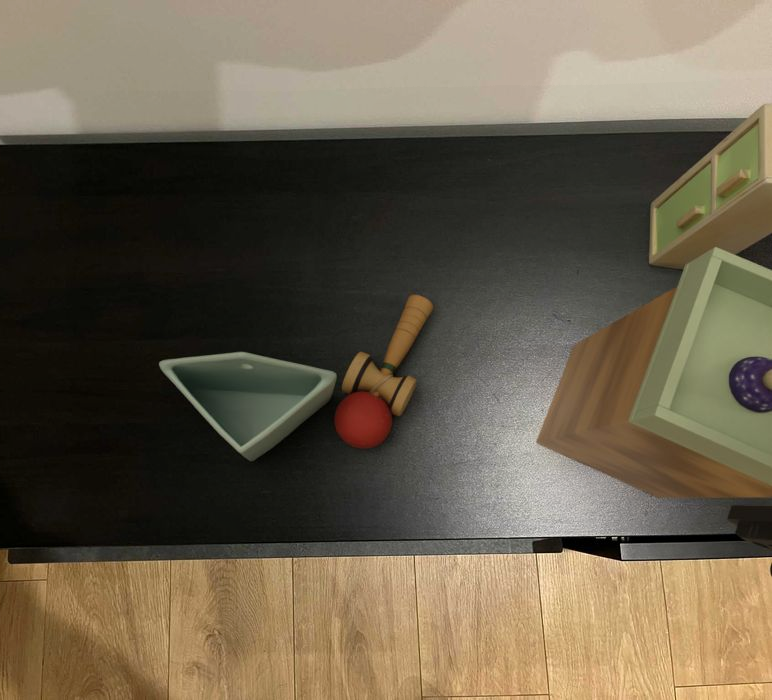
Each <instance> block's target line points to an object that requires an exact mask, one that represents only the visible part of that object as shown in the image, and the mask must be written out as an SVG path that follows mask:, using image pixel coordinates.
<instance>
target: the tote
mask: <svg viewBox="0 0 772 700" xmlns="http://www.w3.org/2000/svg"><path fill="white" fill-rule="evenodd" d="M676 287H677V289H676V292H675V294H674V297H673V300H672V303H671V305H670V308H669V311H668V314H667V316H666V319H665V322H664V324H663V327H662V330H661V333H660V335H659V338H658V341H657V344H656V346H655V349H654V352H653V354H652V357H651V360H650V363H649V365H648V368H647V371H646V374H645V376H644V379H643V382H642V384H641V387H640V390H639V393H638V395H637V398H636V401H635V404H634V406H633V409H632V412H631V414H630V417H629V420H628V422H629V423H632V424H634V425H636V426H638V427H641V428H643V429H645V430H647V431H650V432H652V433H654V434H656V435H659V436H661V437H663V438H665V439H668V440H670V441H672V442H674V443H676V444H679V445H681V446H683V447H685V448H688V449H690V450H692V451H694V452H697V453H699V454H701V455H703V456H706V457H708V458H710V459H712V460H715V461H717V462H719V463H721V464H724V465H726V466H728V467H730V468H733V469H735V470H737V471H739V472H741V473H744V474H746V475H748V476H750V477H753V478H755V479H757V480H759V481H762V482H764V483H766V484H768V485H771V486H772V411H770V412H763V413H762V412H754V411H752V410H749V409H746V408H745V407H743V406H742V405H740V404H739V403H738V401H737V400H736V399H735V398H734V396H733V394H732V392H731V389H730V386H729V374H730V371H731V369H732V367H733V366H734V365H735V364H736V363H737V362H738V361H740V360H742V359H744V358H747V357H756V356H758V357H766V358H769V359H772V269H769V268H768V267H766V266H765V267H764V266H763V265H759V264H758V263H756V262H753V261H751V260H748V259H746V258H743V257H741V256H738V255H737V254H735V255H734V254H731V253H729V252H727V251H724V250H722V249H720V248H717V247H714V248H713V249H711V250H709V251H708V252H706V253H704V254H703V255H701V256H700V257H698V258H696V259H695V260H693V261H691V262H690V263H688V264H686V265H685V267H684V270H682V272H681V276H680V278H679V281H678V284H677V286H676Z"/></svg>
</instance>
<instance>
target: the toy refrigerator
mask: <svg viewBox="0 0 772 700" xmlns="http://www.w3.org/2000/svg"><path fill="white" fill-rule="evenodd" d="M649 210H650V215H649V247H648V248H649V249H648V264H649V265H650V266H653V267H659V268H668V269H675V270H682V271H683V270H684V267H685V265H686V264H688V263H690V262H691V261H693V260H695V259H696V258H698V257H700V256H701V255H703V254H704V253H706V252H708V251H709V250H711V249H713V248H714V247H717V248H720V249H722V250H724V251H727V252H729V253H731V254H734V255H737V254H739V253H740V252H742V251H744V250H746V249H748V248H749V247H750V246H752V245H754V244H756V243H758V242H759V241H761V240H763V239H765V238H766V237H767V236H770V235H771V234H772V103H764V104H762V105H761V106H759V108H757V109H756V110H755V111H754V112H753V113H751V115H750V116H748V117H747V118H746V119H745V120H744V121H743V122H741V123H740V124H739V125H738V126H737V127H736V128H735V129H733V130H732V131H731V132H730V133H729V134H728V135H727V136H725V138H723V140H721V141H720V142H719V143H717V145H716V146H715V147H714V148H712V149H711V150H710V151H708V152H707V154H705V155H704V156H703V157H702V158H700V160H699V161H697V162H696V163H695V164H694V165H692V167H690V168H689V169H688V170H687V171H686V172H685V173H684V174H682V175H681V176H680V177H679V178H678V179H677V180H676V181H674V182H673V183H672V184H671V185H670V186H669V187H668V188H667V189H665V190H664V191H663V192H662V193H661V194H659V196H658V197H656V198H655V199H654V200H653V201H652V202H651V204H650V209H649Z"/></svg>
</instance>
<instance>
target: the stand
mask: <svg viewBox="0 0 772 700" xmlns="http://www.w3.org/2000/svg"><path fill="white" fill-rule="evenodd" d="M676 289H677V286H675V287H673V288H671V289H670V290H668V291H666V292H664V293H663V294H661V295H659V296H658V297H656V298H654V299H652V300H650V301H648V302H647V303H646V304H644V305H642V306H640V307H638V308H637V309H635V310H633V311H631V312H630V313H628V314H626V315H624V316H622V317H621V318H619V319H617V320H616V321H613V322H612V323H611V324H610V323H609V325H607V326H605V327H603V328H602V329H600V330H598V331H596V332H595V333H593V334H591V335H589V336H587V337H586V338H584V339H582V340H581V341H579V342H576V343H575V344H574V345H573V347H572V349H571V351H570V354H569V357H568V360H567V362H566V365H565V367H564V369H563V372H562V375H561V376H560V380H559V382H558V385H557V386H556V387H557V388H556V390H555V393H554V395H553V398H552V400H551V403H550V406H549V408H548V410H547V413H546V415H545V418H544V420H543V423H542V426H541V428H540V431H539V433H538V436H537V438H536V441H535V443H536V444H538V445H540V446H543V447H545V448H547V449H549V450H552V451H553V452H556V453H558V454H559V455H563V456H564V457H567V458H569V459H570V460H571V459H572V460H573V461H576V462H578V463H580V464H582V465H584V466H587V467H589V468H591V469H593V470H595V471H597V472H600V473H602V474H605V475H606V476H608V477H611V478H613V479H615V480H617V481H620V482H621V483H624V484H626V485H628V486H631V487H633V488H635V489H637V490H639V491H642V492H643V493H646V494H648V495H650V496H653V497H655V498H657V499H694V498H695V499H698V498H699V499H700V498H701V499H705V498H708V499H711V498H713V499H714V498H715V499H718V498H719V499H720V498H721V499H722V498H723V499H724V498H729V499H730V498H731V499H732V498H738V499H739V498H772V486H771V485H768V484H766V483H764V482H762V481H759V480H757V479H755V478H753V477H750V476H748V475H746V474H744V473H741V472H739V471H737V470H735V469H733V468H730V467H728V466H726V465H724V464H721V463H719V462H717V461H715V460H712V459H710V458H708V457H706V456H703V455H701V454H699V453H697V452H694V451H692V450H690V449H688V448H685V447H683V446H681V445H679V444H676V443H674V442H672V441H670V440H668V439H665V438H663V437H661V436H659V435H656V434H654V433H652V432H650V431H647V430H645V429H643V428H641V427H638V426H636V425H634V424H632V423H629V422H628V420H629V417H630V414H631V412H632V409H633V406H634V404H635V401H636V398H637V395H638V393H639V390H640V387H641V384H642V382H643V379H644V376H645V374H646V371H647V368H648V365H649V363H650V360H651V357H652V354H653V352H654V349H655V346H656V344H657V341H658V338H659V335H660V333H661V330H662V327H663V324H664V322H665V319H666V316H667V314H668V311H669V308H670V305H671V303H672V300H673V297H674V294H675V292H676Z"/></svg>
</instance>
